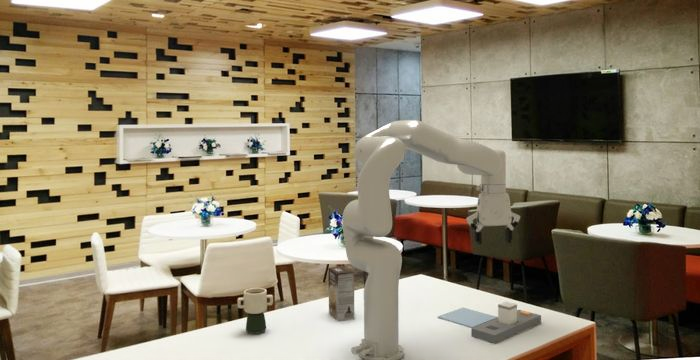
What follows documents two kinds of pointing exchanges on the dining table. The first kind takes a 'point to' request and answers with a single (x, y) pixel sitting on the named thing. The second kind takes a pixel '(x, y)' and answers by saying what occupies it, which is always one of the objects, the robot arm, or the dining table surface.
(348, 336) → the dining table surface
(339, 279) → the coffee box
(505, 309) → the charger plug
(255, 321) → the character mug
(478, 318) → the slate mat
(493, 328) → the power strip
